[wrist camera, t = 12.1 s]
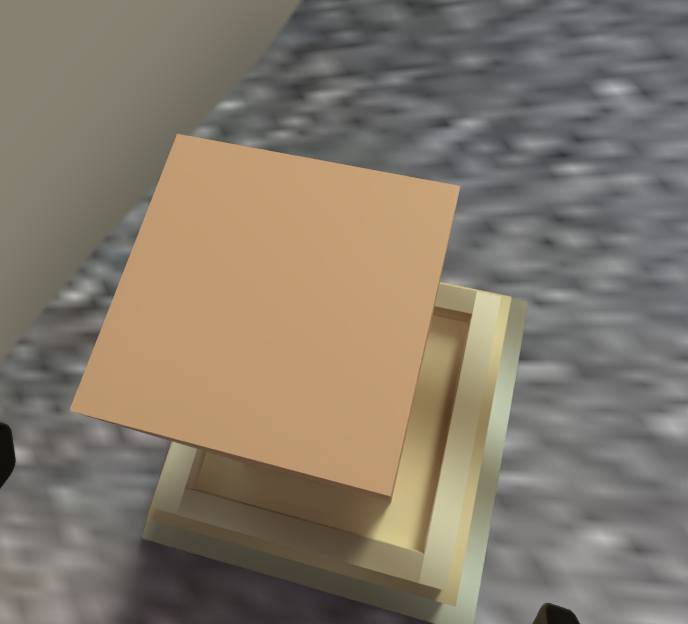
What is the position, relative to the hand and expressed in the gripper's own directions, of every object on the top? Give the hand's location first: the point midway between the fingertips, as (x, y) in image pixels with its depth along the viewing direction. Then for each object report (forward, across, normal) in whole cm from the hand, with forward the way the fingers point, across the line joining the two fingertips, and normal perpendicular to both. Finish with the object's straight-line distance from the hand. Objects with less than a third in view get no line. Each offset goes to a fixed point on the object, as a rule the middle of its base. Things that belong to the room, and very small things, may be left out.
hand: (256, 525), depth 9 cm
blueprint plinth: (+12, 0, +7) cm, 14 cm away
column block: (+9, +1, +4) cm, 10 cm away
